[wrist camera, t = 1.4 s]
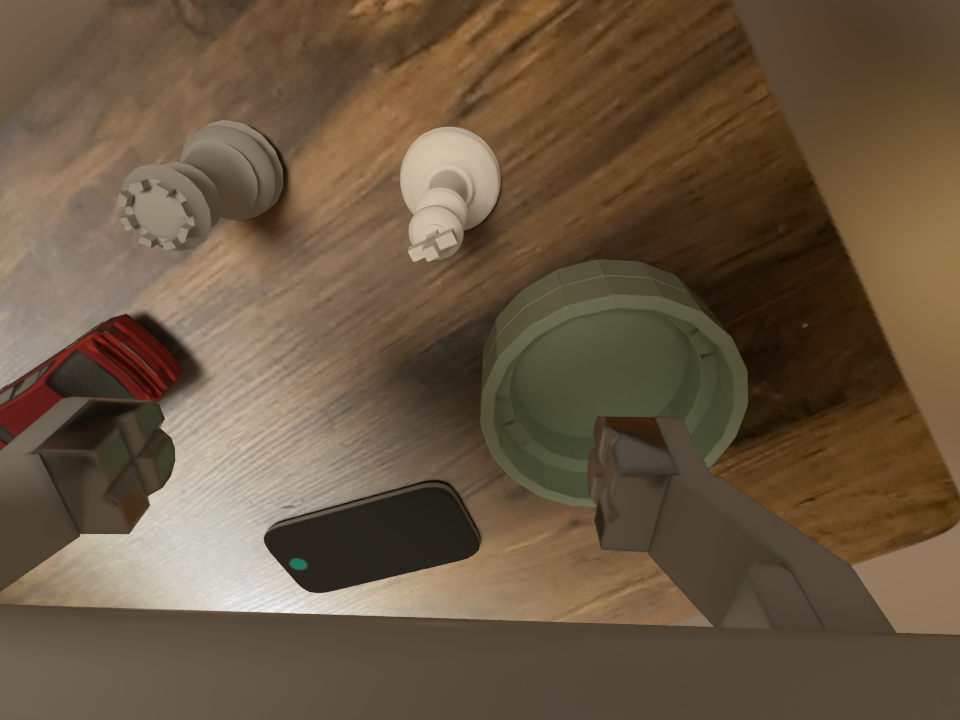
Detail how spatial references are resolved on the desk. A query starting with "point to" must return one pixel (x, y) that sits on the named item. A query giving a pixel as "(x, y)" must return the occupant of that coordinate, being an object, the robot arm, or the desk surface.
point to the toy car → (91, 374)
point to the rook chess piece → (202, 187)
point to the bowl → (603, 371)
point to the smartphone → (374, 538)
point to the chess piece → (447, 189)
